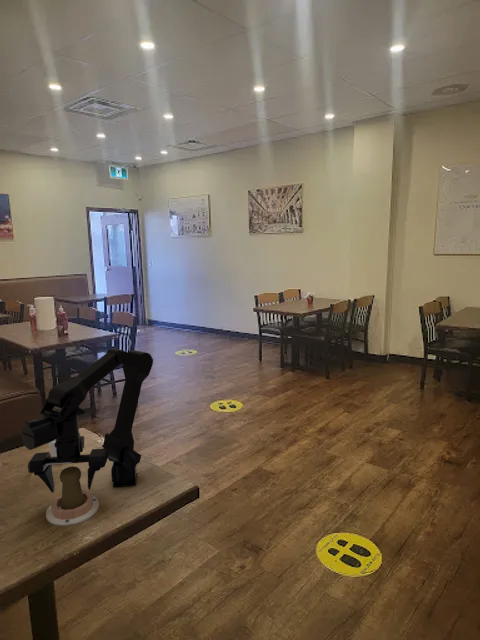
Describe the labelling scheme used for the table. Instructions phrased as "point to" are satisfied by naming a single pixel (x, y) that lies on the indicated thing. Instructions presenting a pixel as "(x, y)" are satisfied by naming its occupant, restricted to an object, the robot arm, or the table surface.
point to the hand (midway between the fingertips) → (71, 490)
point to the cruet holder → (72, 511)
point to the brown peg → (71, 488)
